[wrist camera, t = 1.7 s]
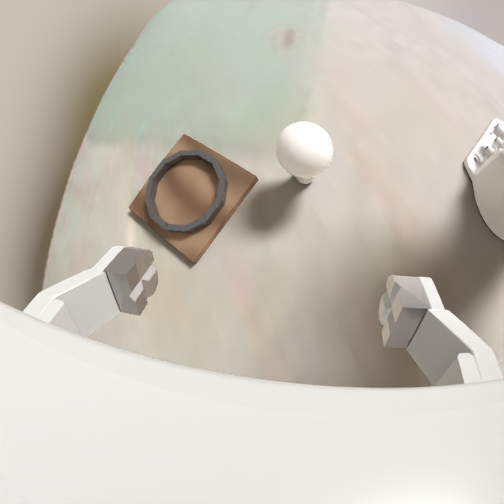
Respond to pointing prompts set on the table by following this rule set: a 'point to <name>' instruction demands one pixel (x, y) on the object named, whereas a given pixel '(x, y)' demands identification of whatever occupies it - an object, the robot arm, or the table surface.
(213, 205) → the collar
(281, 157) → the lightbulb
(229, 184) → the board
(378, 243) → the table surface
